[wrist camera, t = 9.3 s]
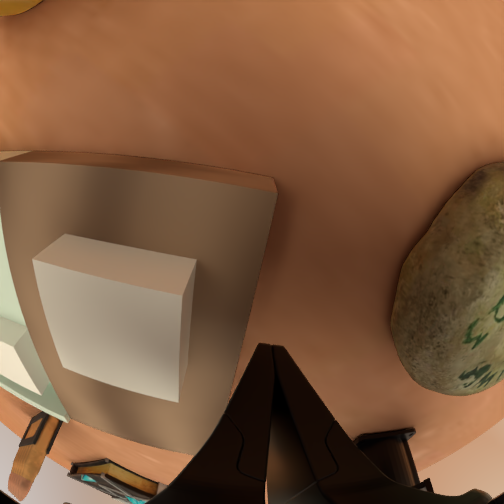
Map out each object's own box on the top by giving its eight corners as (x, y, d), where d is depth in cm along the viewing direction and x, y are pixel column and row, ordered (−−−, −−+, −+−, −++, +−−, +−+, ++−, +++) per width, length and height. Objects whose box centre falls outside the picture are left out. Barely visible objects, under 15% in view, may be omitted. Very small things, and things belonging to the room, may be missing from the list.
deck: (272, 177, 10) (278, 193, 8) (216, 430, 18) (213, 458, 15) (33, 151, 9) (-3, 161, 7) (81, 395, 17) (70, 418, 15)
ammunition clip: (51, 405, 19) (11, 496, 8) (66, 416, 19) (29, 507, 9) (31, 418, 22) (1, 485, 11) (43, 426, 22) (15, 494, 12)
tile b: (196, 259, 9) (182, 295, 7) (187, 364, 11) (178, 402, 9) (64, 233, 8) (32, 258, 7) (82, 336, 10) (63, 367, 9)
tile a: (28, 327, 13) (13, 346, 11) (52, 377, 15) (41, 395, 13) (-12, 311, 13) (-26, 326, 11) (11, 358, 15) (0, 374, 13)
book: (71, 460, 29) (64, 481, 24) (105, 453, 24) (95, 484, 19) (172, 504, 36) (169, 523, 31) (231, 500, 31) (230, 525, 26)
